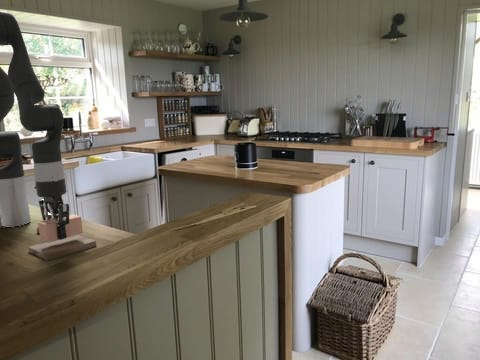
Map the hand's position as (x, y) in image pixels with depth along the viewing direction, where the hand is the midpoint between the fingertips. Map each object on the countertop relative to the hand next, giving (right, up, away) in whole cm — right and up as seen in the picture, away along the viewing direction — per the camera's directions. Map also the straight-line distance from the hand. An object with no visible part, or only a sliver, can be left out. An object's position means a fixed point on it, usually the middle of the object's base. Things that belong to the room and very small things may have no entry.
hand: (57, 236), depth 115 cm
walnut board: (+1, -4, +1) cm, 4 cm away
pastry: (-11, -1, +22) cm, 24 cm away
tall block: (+4, +3, +4) cm, 7 cm away
